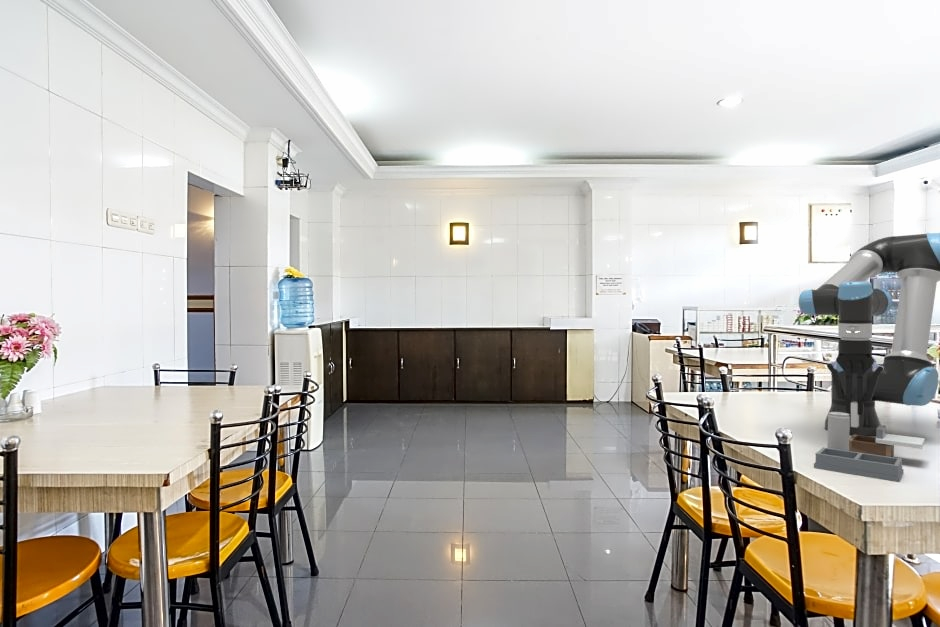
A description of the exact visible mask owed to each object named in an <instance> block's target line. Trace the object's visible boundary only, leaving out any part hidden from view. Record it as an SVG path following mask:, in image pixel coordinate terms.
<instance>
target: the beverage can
mask: <svg viewBox="0 0 940 627" xmlns="http://www.w3.org/2000/svg"><path fill="white" fill-rule="evenodd" d="M828 412H829V411H828ZM827 415H828V414H827ZM849 432H850V417H849V414H847V413H842V412H829V415H828V430H827V448H831V449H838V450H845V451H849V439H850V434H849Z"/></svg>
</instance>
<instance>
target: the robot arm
mask: <svg viewBox="0 0 940 627" xmlns="http://www.w3.org/2000/svg"><path fill="white" fill-rule="evenodd" d="M885 273H886V274H887V273H896V275H897V277H898V278H899V280H901V285H900V291H899V298H898V304H897V305H898V306H897V310H896V311H897V312H896V317H895V325H894V331H893V338H892V339H893V340H892V343H891V344H892V345H891V351H890V353H888V354H886V355H884V357H883V363H877V360H876V358H874V357H873V341H872V340H871V339H872V337H873V321H872V320H873V317H878V316H882V315H885V314H887V313H888V312H889V311H890V310H891V308H892V307H893V298H892V296H891V294H890V293H889V291H886V290H884V289H882V288H878V287H875V288H873V284H872V282H870V281H867V280H869V279H871V278H874V277H877V276H878V275H879V274H885ZM938 282H940V232H936V233H935V232H934V233H933V232H932V233H931V232H930V233H929V232H927V233H921V234H920V233H919V234H907V235H898V236H896V235H895V236H886V237H882V238H879V239H877V240H874V241H871V242H870V243H867V244H866V245H864V246H862V247H860V248H858V250H856V251H855V252H853V254H852V255H850V258H849V260H848V262H847V263H846V264H845V265H844V266H842V267H841V268H840V269H839V270H838V271H837V272H836V273H834V274H833V275H832V276H831V277H829V278H828V279H827V280H826V281H825V282H824V283H823V284H821V285H820V286H819V287H818V288H817V289H806V290H802V291H801V293H800V294H799V297H798V307H799V310H800V312H801V313H802V314H804V315H810V316H838V322H837V323H838V329H837V332H838V334H837V335H838V338H840V339H839V340H838V342H837V343H838V344H837V345H838V348H837V349H838V350H837V351H838V352H837V353H838V355H837V357H836V358H835V360H834V361H832V362H828V364H826V367H827V369H828V370H829V372H830V376H831V386H830V387H831V392H830V394H831V403H830V407H829V410H828V412H827V415H826V418H825V420H824V429H825V430H827V431H828V415H829V412H842V413H847V414H849V417H850V432H849V436H850V435H851V436H853V435H861V436H869V437H876V429H877V428H878V426H879V425H882V424H881V421H880V420H879V416H878V413H877V411H876V402H880V403H881V402H884V403H890V404H899V405H905V406H917V407H919V406H920V407H923V406H926V405H928V404H930V402H932V400H933V399H934V397H935V395H936V392H937V390H938V387H939V372H938V369H936V368H934V367H933V362H932V361H931V360H930V359H929V358H928V357H927V356H928V348H929V341H930V335H931V334H930V333H931V326H932V321H933V320H932V319H933V312H934V305H935V304H934V303H935V300H936V299H935V298H936V291H937V284H938Z"/></svg>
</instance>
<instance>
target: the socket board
mask: <svg viewBox="0 0 940 627" xmlns="http://www.w3.org/2000/svg"><path fill="white" fill-rule="evenodd" d="M813 469H819V470H826V471H832V472H837V473H838V472H839V473H844V474H849V475H855V476H861V475H862V477H867V476H868V478H873V479H874V478H875V479H879V480H885V481H891V482H892V481H893V482H899V483H900V482H901V479H902V477H903V475H904V471H905V470H904V468H903V458H900V457H895V456H894V457H887V456H880V455H873V454H866V453H859V452H852V451H845V450H838V449H831V448H828V447H822V448H820V449H819V450H818V451H817V452H816V453H815V462H814V463H813Z"/></svg>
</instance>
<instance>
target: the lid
mask: <svg viewBox="0 0 940 627" xmlns="http://www.w3.org/2000/svg"><path fill="white" fill-rule="evenodd" d="M875 437H876V443H880V444H888V445H894V446H897V447H905V448H910V449H911V448H912V449H918V450H919V449H920V450H922V449H923V447H924V445H925V443H926V441H925V440H926V439H925V438H924V437H917V436H916V437H915V436H910V435H909V436H906V435H901V434H900V435H899V434H894V433H893V434H892V433H887V424H886V425H883V424H881V425H879V426H878V428H877V429H876V435H875Z"/></svg>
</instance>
